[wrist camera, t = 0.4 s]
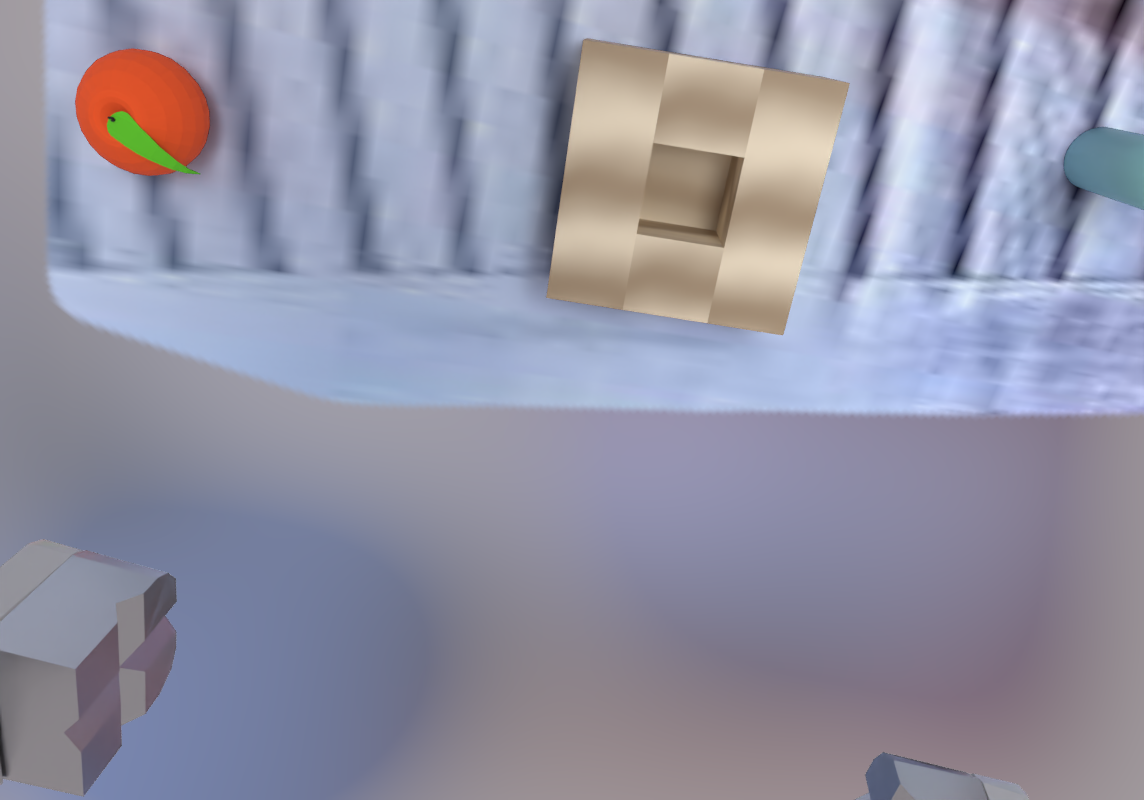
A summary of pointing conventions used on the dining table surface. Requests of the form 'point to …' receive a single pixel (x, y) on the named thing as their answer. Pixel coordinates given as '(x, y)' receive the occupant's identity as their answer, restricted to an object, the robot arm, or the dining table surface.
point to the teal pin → (1108, 164)
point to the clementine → (142, 112)
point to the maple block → (691, 185)
